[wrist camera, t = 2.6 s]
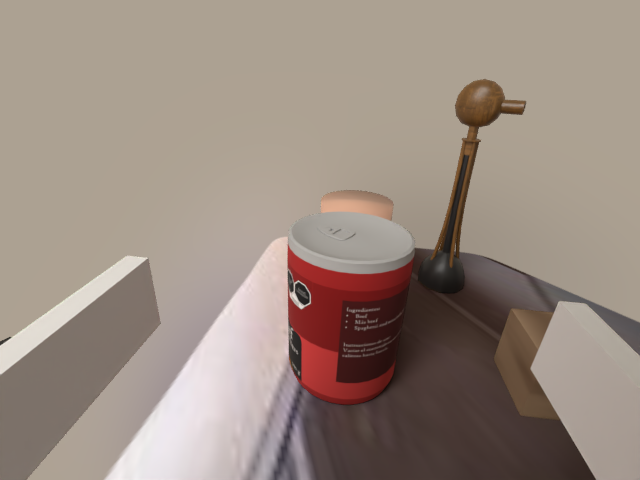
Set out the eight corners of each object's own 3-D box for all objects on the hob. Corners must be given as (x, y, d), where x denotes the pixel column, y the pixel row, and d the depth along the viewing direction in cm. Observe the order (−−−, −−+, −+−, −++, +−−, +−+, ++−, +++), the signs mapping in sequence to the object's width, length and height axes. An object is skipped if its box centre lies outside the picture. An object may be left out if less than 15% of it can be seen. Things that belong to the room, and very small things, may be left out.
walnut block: (559, 366, 26) (584, 315, 24) (600, 426, 21) (635, 369, 19) (493, 359, 26) (510, 308, 24) (519, 416, 22) (544, 359, 20)
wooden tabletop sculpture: (477, 282, 37) (534, 80, 28) (467, 302, 33) (528, 79, 25) (425, 265, 40) (461, 79, 31) (411, 282, 36) (447, 77, 28)
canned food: (310, 320, 30) (313, 204, 25) (400, 345, 27) (422, 221, 23) (269, 386, 23) (263, 245, 19) (382, 425, 21) (408, 275, 16)
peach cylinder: (392, 274, 37) (403, 198, 34) (367, 306, 32) (377, 219, 28) (337, 258, 41) (341, 186, 37) (306, 284, 35) (307, 203, 31)
